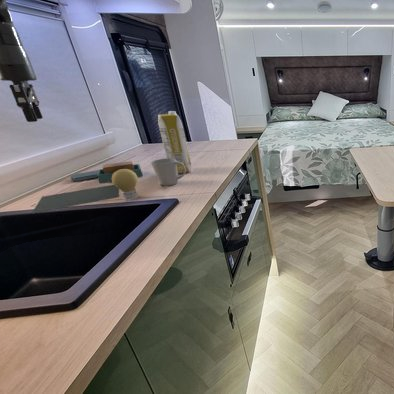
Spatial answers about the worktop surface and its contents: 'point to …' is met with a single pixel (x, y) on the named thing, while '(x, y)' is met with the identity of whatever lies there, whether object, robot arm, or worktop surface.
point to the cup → (167, 171)
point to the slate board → (76, 198)
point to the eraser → (117, 167)
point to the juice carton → (174, 140)
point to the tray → (108, 177)
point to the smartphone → (84, 176)
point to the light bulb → (126, 183)
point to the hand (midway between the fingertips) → (35, 120)
